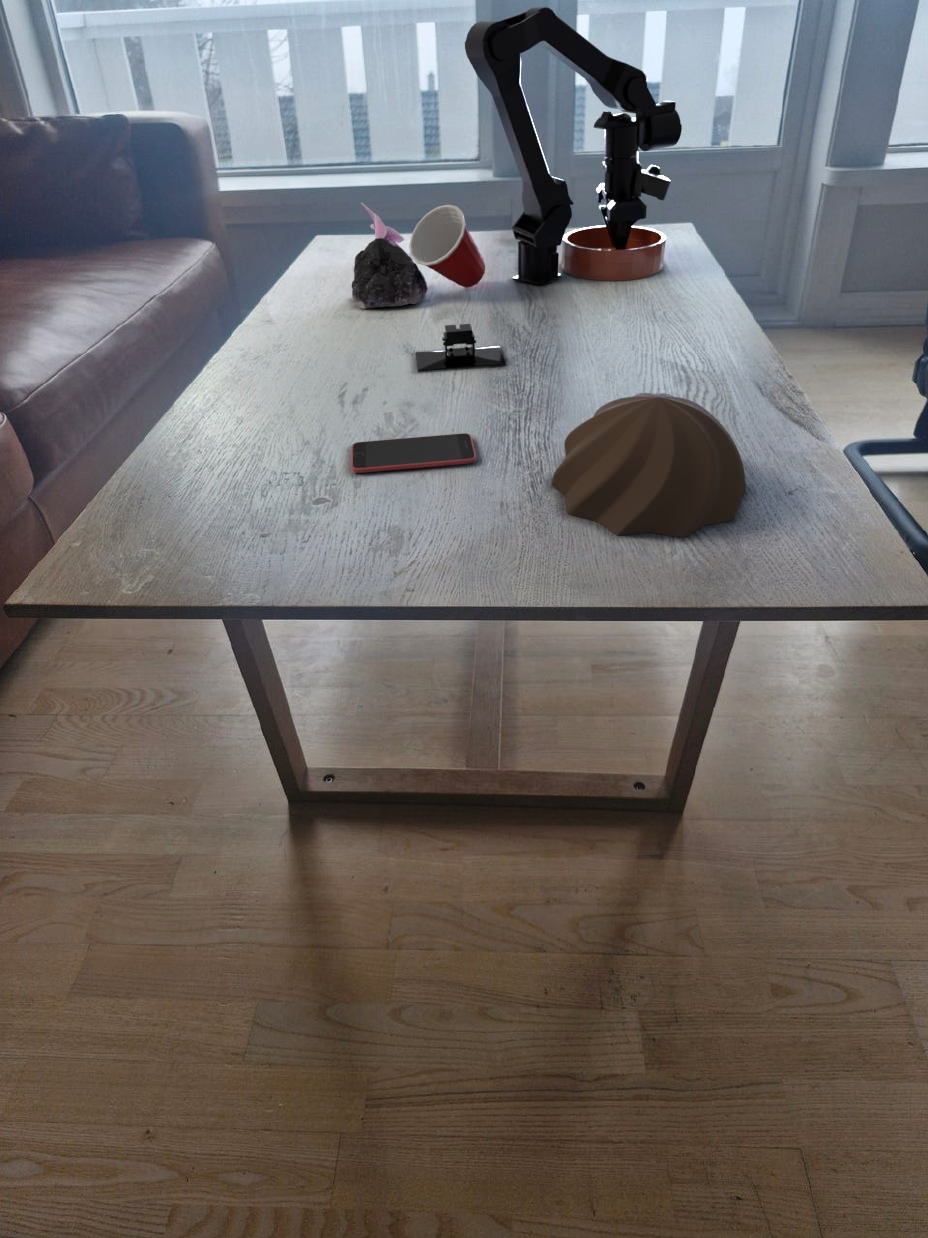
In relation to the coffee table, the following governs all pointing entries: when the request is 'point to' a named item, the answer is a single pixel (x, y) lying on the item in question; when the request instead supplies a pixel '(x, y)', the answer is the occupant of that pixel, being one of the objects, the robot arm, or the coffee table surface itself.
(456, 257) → the plastic cup
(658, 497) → the decorative dome
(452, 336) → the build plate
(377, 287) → the crystal cluster
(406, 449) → the smartphone
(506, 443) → the coffee table surface
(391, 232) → the lily
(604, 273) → the bowl
